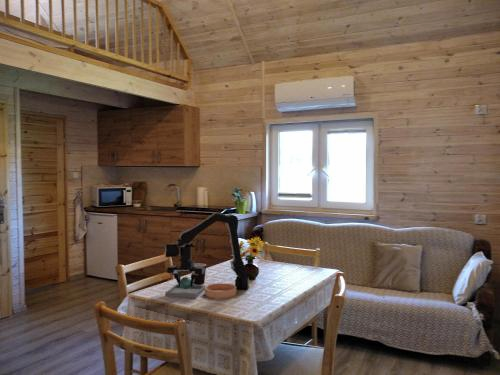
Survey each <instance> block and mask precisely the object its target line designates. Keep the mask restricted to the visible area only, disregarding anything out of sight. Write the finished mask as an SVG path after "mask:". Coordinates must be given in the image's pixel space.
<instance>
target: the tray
mask: <svg viewBox="0 0 500 375" xmlns="http://www.w3.org/2000/svg"><path fill="white" fill-rule="evenodd" d="M205 287H206V285H204V284H199V285H197V284H193V286H192V287H190V288H188V289H183V288H182V287H181V286H179V285H178V283H176V284H174V285H173V286H172V287H170V288H169V289H168V290H167V291H165V292H164V297H166V296H167V297H168V298H169V297H173V298H189V299H197V298H198V297H199V296H200V295H201V294H203V292H205ZM167 297H166V298H167Z"/></svg>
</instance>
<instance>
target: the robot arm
mask: <svg viewBox="0 0 500 375" xmlns="http://www.w3.org/2000/svg"><path fill="white" fill-rule="evenodd" d="M216 222H219V223H225V226H226V229H227V230H228V233H229V234H228V235H229V239H230V246H231V253H232V260H231V261H230V260H229V262H230V269H231V270H232V272H234V273H235V276H236V278H235V279H234V285H235V286H236V287H237V291H238V290H239V291H248V290H249V289H250V282H249V281H250V280H249V279H250V276H251V275H250V273H249V272H248V271H247V270H246V266H245V264H244V261H243V258H242V255H241V249H240V242H239V241H240V240H239V235H238V228H239V218H238V217H237V215H234V214H232V213H228V214H222V213H218V212H213V213H212V214H211V215H210V216H207V217H206V218H205V219H203V220H202V221H201V222H199V223H198V224H197V223H196V225H194V226H192V227H190V228H188V229H185V230H182V231H181V232H180V234H179V238H178V239H177V240H176V242H175V243H165V248H164V256H165V258H176V257H178V255H179V260H178V261H179V267H178V265H173V264H172V265H171V264H170V265H169V266H168V267H167V268H166V273H167V274H171V276H173V277H174V279H175V281H176V282H177V284H178V285H179V286H180V281H181V279H182V278H181V273H182V272H184V273H185V272H186V273H187V272H188V273H189V272H190V273H191V274H190V279H191V287H192V286H193V285H194V284H193V283H194V280H195V278H196V276H197V275H198V274H203V273H204V272H205V268H204V267H199V266H197V267H196V268H191V267H194V264H196V263H195V262H196V261H195V260H193V257H192V248H196V245H195V244H193V242H192V241H193V240H194V239H195V238H197V236H198V235H199V234H200V233H202V232H203V231H204V230H206V229H207V228H209V227H210V226H212V225H213V224H215V223H216ZM192 273H193V274H192Z"/></svg>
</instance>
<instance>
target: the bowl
mask: <svg viewBox="0 0 500 375" xmlns="http://www.w3.org/2000/svg"><path fill="white" fill-rule="evenodd" d="M237 291H238V290H237V287H236V286H235V284H232V283H227V282H223V283H222V282H217V283H211V284H208V285H205V290H204V296H206V297H208V298H211V299H229V298H233V297H235V296H236V295H237Z"/></svg>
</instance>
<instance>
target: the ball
mask: <svg viewBox="0 0 500 375" xmlns="http://www.w3.org/2000/svg"><path fill="white" fill-rule="evenodd" d="M180 279H181V281H180V286H181V287H182V288H183V289H188V288H190V287H191V277H188V276H183V277H182V278H180Z"/></svg>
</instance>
